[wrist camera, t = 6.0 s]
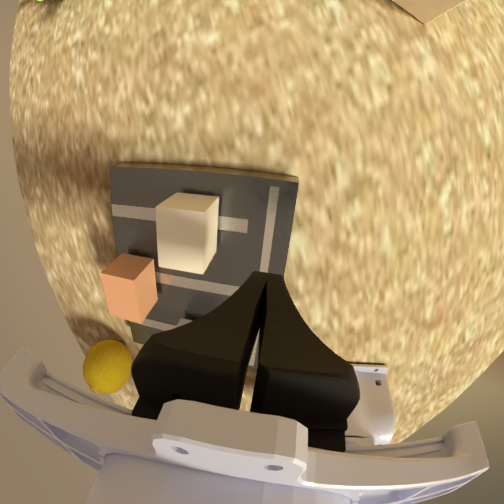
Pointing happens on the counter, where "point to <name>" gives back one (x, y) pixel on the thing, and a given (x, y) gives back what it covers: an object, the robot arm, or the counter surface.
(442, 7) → the milk
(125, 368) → the lemon
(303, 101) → the counter surface
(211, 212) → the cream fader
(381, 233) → the counter surface
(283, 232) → the panel
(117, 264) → the block
